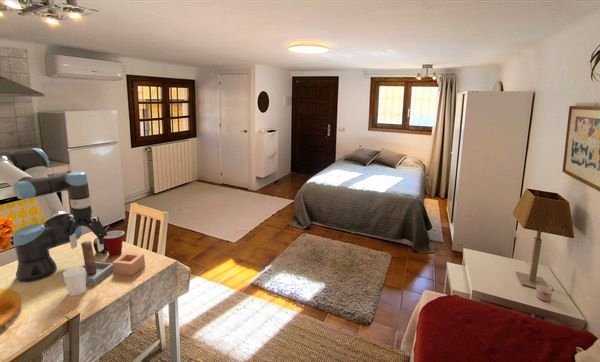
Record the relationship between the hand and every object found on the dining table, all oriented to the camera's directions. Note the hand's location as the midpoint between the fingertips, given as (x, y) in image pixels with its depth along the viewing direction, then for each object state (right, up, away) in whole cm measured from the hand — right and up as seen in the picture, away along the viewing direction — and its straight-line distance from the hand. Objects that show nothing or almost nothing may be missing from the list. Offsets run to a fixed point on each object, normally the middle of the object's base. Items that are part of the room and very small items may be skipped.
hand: (87, 248), depth 150 cm
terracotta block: (+15, -12, +10) cm, 21 cm away
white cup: (+2, -17, -9) cm, 19 cm away
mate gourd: (-8, -7, +26) cm, 28 cm away
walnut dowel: (0, -12, +3) cm, 13 cm away
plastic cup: (-1, -8, +24) cm, 25 cm away
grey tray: (0, -13, +4) cm, 14 cm away
